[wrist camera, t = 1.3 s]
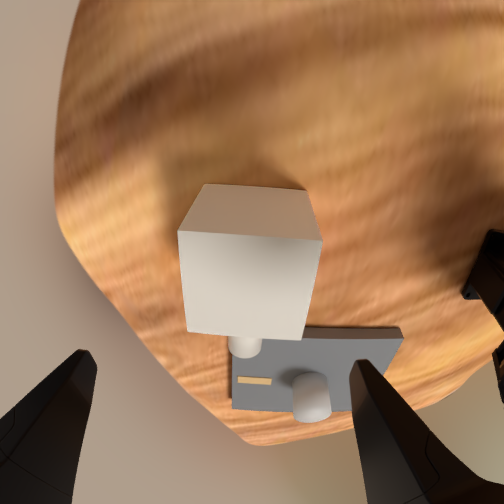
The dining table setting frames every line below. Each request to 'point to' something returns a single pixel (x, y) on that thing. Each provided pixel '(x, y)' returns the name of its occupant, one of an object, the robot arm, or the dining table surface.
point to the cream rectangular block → (248, 264)
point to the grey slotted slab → (309, 371)
